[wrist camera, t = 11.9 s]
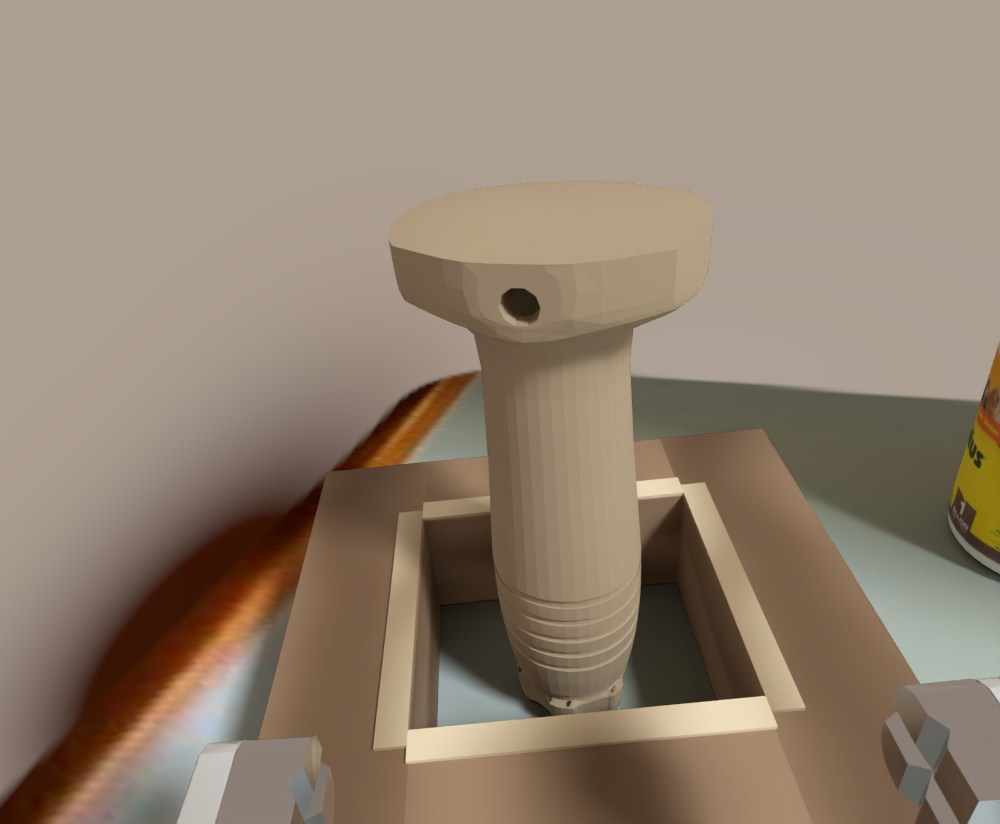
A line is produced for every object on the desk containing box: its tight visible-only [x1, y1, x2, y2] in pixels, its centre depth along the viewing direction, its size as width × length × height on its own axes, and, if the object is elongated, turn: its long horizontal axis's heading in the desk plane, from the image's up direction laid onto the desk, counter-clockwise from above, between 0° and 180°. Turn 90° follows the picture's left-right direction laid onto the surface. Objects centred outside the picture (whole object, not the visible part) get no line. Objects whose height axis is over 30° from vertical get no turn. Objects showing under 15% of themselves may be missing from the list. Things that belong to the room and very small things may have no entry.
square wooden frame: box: [258, 428, 920, 824], centre depth 22 cm, size 16×14×4 cm
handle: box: [388, 181, 713, 716], centre depth 19 cm, size 5×6×15 cm
